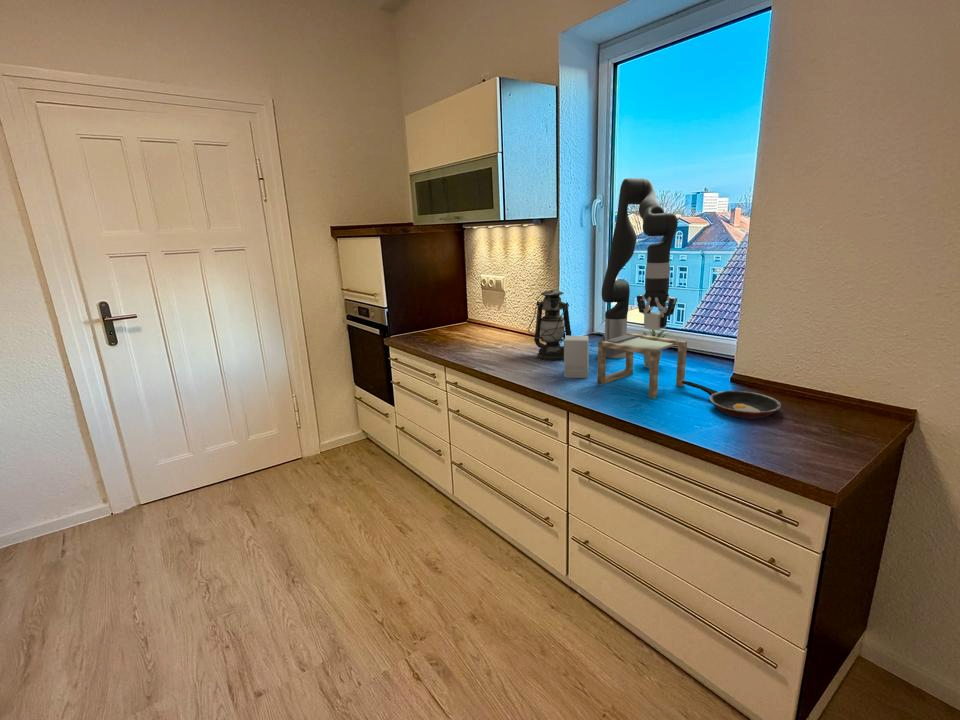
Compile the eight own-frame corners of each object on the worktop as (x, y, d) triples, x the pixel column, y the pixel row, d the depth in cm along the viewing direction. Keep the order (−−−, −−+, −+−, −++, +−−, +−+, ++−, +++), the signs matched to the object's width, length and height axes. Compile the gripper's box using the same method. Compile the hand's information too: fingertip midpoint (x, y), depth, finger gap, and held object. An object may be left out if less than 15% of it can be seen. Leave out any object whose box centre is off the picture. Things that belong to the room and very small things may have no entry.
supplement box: (588, 371, 191) (589, 335, 187) (587, 378, 182) (588, 340, 178) (565, 371, 193) (565, 334, 189) (563, 377, 185) (563, 339, 181)
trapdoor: (604, 354, 173) (604, 340, 172) (627, 347, 182) (628, 334, 180) (651, 363, 159) (651, 348, 157) (674, 355, 167) (675, 341, 166)
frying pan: (752, 427, 132) (754, 414, 131) (662, 396, 160) (662, 385, 159) (794, 413, 141) (795, 401, 140) (700, 385, 168) (701, 375, 167)
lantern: (579, 355, 215) (579, 289, 208) (559, 366, 201) (558, 294, 193) (542, 351, 226) (541, 287, 219) (521, 360, 212) (519, 293, 204)
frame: (597, 384, 175) (598, 341, 171) (628, 372, 187) (629, 332, 182) (653, 398, 158) (656, 351, 154) (684, 385, 169) (687, 341, 165)
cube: (644, 328, 163) (644, 313, 162) (652, 325, 166) (653, 311, 165) (657, 330, 160) (658, 315, 158) (665, 327, 163) (666, 313, 161)
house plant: (677, 364, 195) (679, 324, 190) (669, 373, 184) (671, 331, 179) (641, 360, 202) (643, 322, 198) (632, 369, 191) (633, 329, 187)
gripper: (683, 276, 155) (680, 327, 160) (644, 274, 166) (642, 322, 171) (671, 278, 151) (668, 331, 155) (631, 276, 162) (630, 325, 166)
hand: (654, 326), depth 163 cm, fingers closed on cube, 5 cm apart
